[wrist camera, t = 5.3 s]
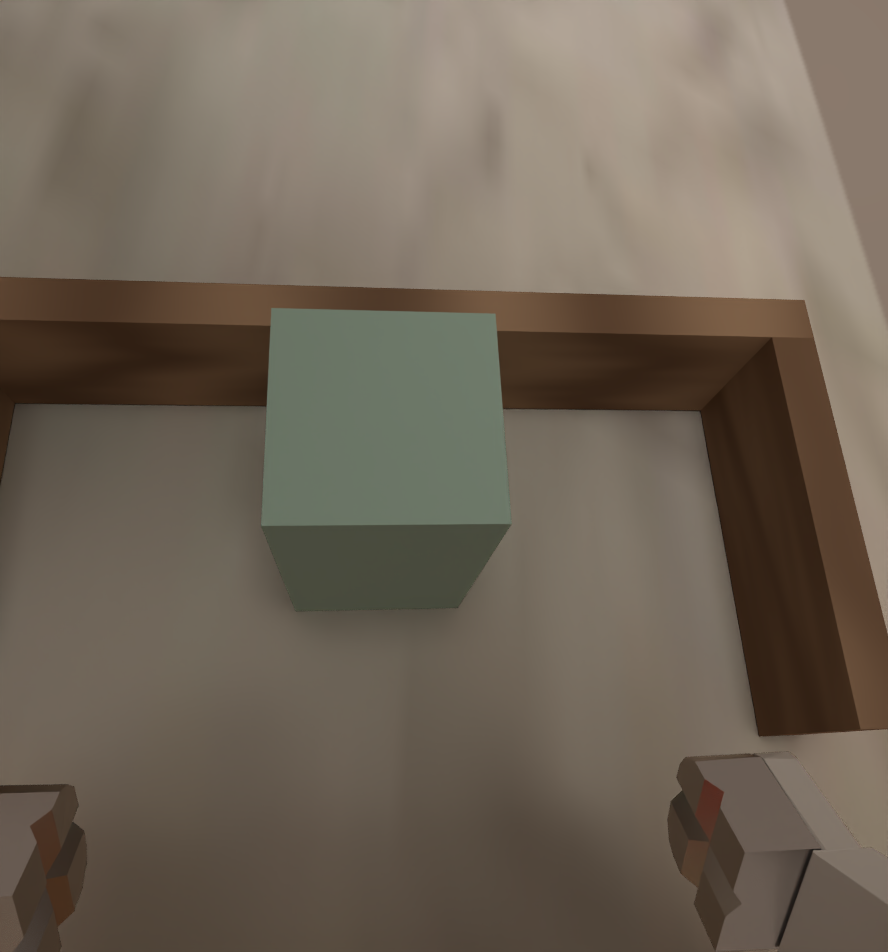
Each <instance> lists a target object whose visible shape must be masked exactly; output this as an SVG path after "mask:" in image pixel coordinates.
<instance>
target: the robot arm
mask: <svg viewBox="0 0 888 952" xmlns="http://www.w3.org/2000/svg"><path fill="white" fill-rule="evenodd" d="M676 778H677V780H678V782H679V784H680V786H681V788H682V791H681V792H680V793H679V794H678V795H677V796H676V797H675V798H674V799H673V800H672V801H671V803H670V808H669V814H668V819H667V821H668V834H669V842H670V846H671V850H672V853H673V857H674V859H675V862H676V864H677V866H678V869H679V871H680V873H681V874H682V875H683V876H684V877H685V878H687V879H688V880H689V881H690V882H692V883H693V884H694V885H695V886H696V887H698V890H697V894H696V898H695V901H694V905H695V908H696V910H697V912H698V914H699V916H700V919H701V921H702V923H703V925H704V928H705V930H706V932H707V934H708V937H709V939H710V941H711V943H712V945H713V948H714V950H715V952H720V951H743V950H766V949H778V952H888V857H886V856H885V855H883V854H882V853H880V852H879V851H877V850H875V849H874V848H862V847H861V846H860V845H859V843H858V842H857V840H856V839H855V838H854V836H853V835H852V833H851V832H850V831H849V829H848V828H847V827H846V825H845V824H844V822H843V821H842V820H841V818H840V817H839V815H838V814H837V813H836V811H835V810H834V809H833V807H832V806H831V804H830V803H829V802H828V800H827V799H826V797H825V796H824V795H823V793H822V792H821V790H820V789H819V788H818V786H817V785H816V784H815V782H814V781H813V779H812V778H811V777H810V775H809V774H808V772H807V771H806V770H805V768H804V767H803V765H802V764H801V763H800V761H799V760H798V759H797V757H796V756H794V755H793V754H791V753H790V752H788V751H787V752H768V753H754V754H749V753H748V754H730V755H711V756H693V757H685V758H684V759H683V761H682V762H681V763H680V765H679V769H678V773H677V777H676ZM78 807H79V803H78V799H77V796H76V792H75V788H74V786H71V785H68V784H54V785H0V952H60V949H61V947H62V945H61V941H60V936H59V932H58V928H57V927H58V926H59V925H60V924H61V923H62V922H63V921H64V920H65V919H66V918H68V917H69V916H70V915H71V914H72V913H73V912H74V911H75V908H76V905H77V903H78V900H79V897H80V894H81V891H82V888H83V882H84V876H85V871H86V865H87V844H86V838H85V833H84V830H82V829H81V828H80V827H79V826H77V825H76V824H75V823H74V822H72V821H73V819H74V816H75V814H76V812H77V809H78Z"/></svg>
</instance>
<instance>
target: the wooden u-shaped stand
mask: <svg viewBox="0 0 888 952" xmlns="http://www.w3.org/2000/svg"><path fill="white" fill-rule="evenodd" d="M271 308H290V309H330V310H370V311H410V312H450V313H490V314H496V327H497V340H498V353H499V366H500V379H501V392H502V405H503V408H518V409H613V410H701V415H702V421H703V427H704V432H705V438H706V443H707V449H708V454H709V460H710V465H711V471H712V477H713V482H714V488H715V493H716V499H717V504H718V510H719V515H720V521H721V527H722V532H723V538H724V543H725V549H726V554H727V560H728V565H729V571H730V576H731V582H732V588H733V593H734V599H735V604H736V610H737V615H738V621H739V626H740V632H741V638H742V643H743V649H744V654H745V660H746V665H747V671H748V676H749V682H750V688H751V693H752V699H753V704H754V710H755V715H756V721H757V726H758V732H759V736H781V735H803V734H818V733H834V732H849V731H864V730H879V729H888V634H887V630H886V626H885V622H884V618H883V614H882V610H881V606H880V602H879V598H878V594H877V590H876V586H875V582H874V578H873V574H872V570H871V566H870V562H869V558H868V554H867V550H866V546H865V542H864V538H863V534H862V530H861V526H860V522H859V518H858V514H857V510H856V506H855V502H854V498H853V494H852V490H851V486H850V481H849V477H848V473H847V469H846V465H845V461H844V457H843V453H842V449H841V445H840V441H839V437H838V433H837V429H836V425H835V421H834V417H833V413H832V409H831V405H830V401H829V397H828V393H827V389H826V385H825V381H824V377H823V373H822V369H821V365H820V361H819V357H818V353H817V349H816V345H815V341H814V337H813V333H812V329H811V325H810V321H809V317H808V313H807V309H806V305H805V301H804V300H779V299H744V298H710V297H675V296H640V295H606V294H571V293H536V292H502V291H467V290H432V289H398V288H363V287H328V286H294V285H259V284H224V283H190V282H155V281H120V280H86V279H51V278H16V277H0V482H1V476H2V471H3V465H4V460H5V454H6V448H7V443H8V437H9V432H10V426H11V421H12V415H13V410H14V404H15V403H44V404H139V405H233V406H267V390H268V369H269V348H270V327H271Z"/></svg>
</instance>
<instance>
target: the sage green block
mask: <svg viewBox="0 0 888 952" xmlns="http://www.w3.org/2000/svg"><path fill="white" fill-rule="evenodd" d="M511 524H512V523H511V510H510V497H509V484H508V471H507V458H506V445H505V432H504V419H503V405H502V392H501V379H500V366H499V353H498V340H497V327H496V314H490V313H450V312H410V311H370V310H330V309H290V308H271V327H270V348H269V369H268V390H267V411H266V433H265V454H264V475H263V496H262V517H261V527H262V529H263V532H264V534H265V537H266V539H267V542H268V544H269V547H270V549H271V552H272V554H273V556H274V559H275V561H276V564H277V566H278V569H279V571H280V574H281V576H282V579H283V581H284V584H285V586H286V589H287V591H288V593H289V596H290V598H291V601H292V603H293V606H294V608H295V611H334V610H382V609H431V608H458V606H459V605H460V603H461V602H462V600H463V599H464V597H465V595H466V594H467V592H468V591H469V589H470V588H471V586H472V585H473V583H474V582H475V580H476V578H477V577H478V575H479V574H480V572H481V571H482V569H483V568H484V566H485V564H486V563H487V561H488V560H489V558H490V557H491V555H492V554H493V552H494V550H495V549H496V547H497V546H498V544H499V543H500V541H501V540H502V538H503V536H504V535H505V533H506V532H507V530H508V529H509V527H510V526H511Z"/></svg>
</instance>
